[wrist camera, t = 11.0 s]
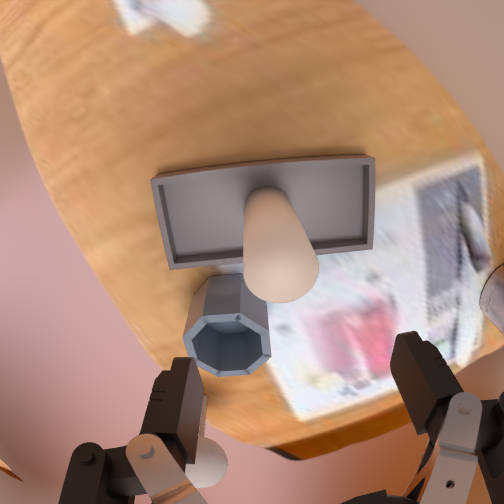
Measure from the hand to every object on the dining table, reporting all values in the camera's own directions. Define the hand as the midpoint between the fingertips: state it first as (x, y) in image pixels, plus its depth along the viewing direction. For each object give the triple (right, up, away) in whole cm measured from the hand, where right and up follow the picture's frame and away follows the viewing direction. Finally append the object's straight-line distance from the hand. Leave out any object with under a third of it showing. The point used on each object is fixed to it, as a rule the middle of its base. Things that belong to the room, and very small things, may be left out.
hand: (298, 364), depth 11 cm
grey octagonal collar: (-4, -2, +23) cm, 24 cm away
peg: (0, +8, +17) cm, 19 cm away
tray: (0, +9, +18) cm, 20 cm away
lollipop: (-9, -17, +30) cm, 36 cm away
